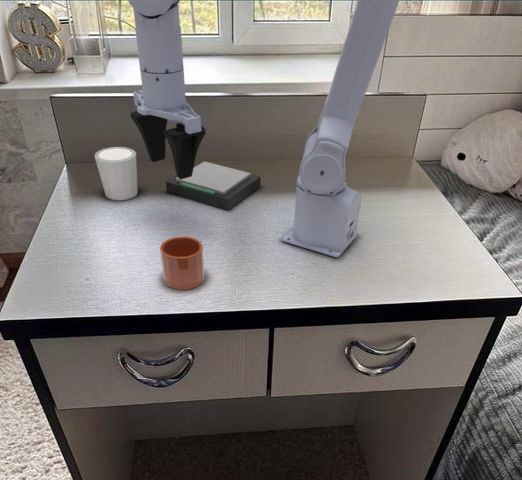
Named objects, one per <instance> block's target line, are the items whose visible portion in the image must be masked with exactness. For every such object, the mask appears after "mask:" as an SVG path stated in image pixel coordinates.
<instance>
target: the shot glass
mask: <svg viewBox="0 0 522 480" xmlns="http://www.w3.org/2000/svg"><path fill="white" fill-rule="evenodd" d="M94 160H95V163H96V165H97V171H98V174H99V178H100V180H101V185H102V187H103V192H104V195H105V197H106V198H108V199H110V200H113V201H125V200H130V199H133V198H135V197H137V195H138V194H139V191H138V190H139V188H138V171H137V170H138V169H137V168H138V167H137V164H138V163H137V152H136V151H135V150H134V149H132V148H129V147H126V146H125V147H124V146H112V147H111V146H110V147H106V148H102V149H100V150H98V151H96V152H95V154H94Z"/></svg>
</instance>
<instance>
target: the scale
mask: <svg viewBox="0 0 522 480" xmlns="http://www.w3.org/2000/svg"><path fill="white" fill-rule="evenodd" d="M165 187H166V193H168V194H171V195H174V196H178V197H181V198H185V199H188V200H191V201H195V202H199V203H202V204H205V205H208V206H212V207H215V208H218V209H223V210H226V211H230V210H231V209H233V208H234V207H235V206H236V205H238V204H239V203H240V202H242V201H243V200H244V199H247V197H249V196H250V195H252V194H253V193H254V192H256V191H257V190H258V189H260V187H261V176H260V175H256V174H253V173H251V172H248V171H243V170H240V169H235V168H231V167H229V166H224V165H220V164H215V163H213V162H208V161H202V160H200V161H199V162H196V163H194V168H193V174H192V176H191V177H188V178H185V179H179V178H178V176H177V174H176V175H175V176H173V177H171V178H170V179H168V180H167V181H165Z"/></svg>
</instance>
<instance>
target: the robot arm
mask: <svg viewBox="0 0 522 480" xmlns="http://www.w3.org/2000/svg"><path fill="white" fill-rule="evenodd" d="M127 1H128V3H129V5H130V6H131V8H133V17H134V26H135V27H134V28H135V38H136V46H137V56H138V64H139V71H140V80H141V88H142V89H140V90H134V91H133V92H132V94H133V102H134V106H135V107H136V110H135V111H132V112H130V114H129V115H130V118H131V120H132V122H133V123H134V125H135V126H136V127H137V129H138V131H139V133H140V135H141V137H142V140H143V143H144V145H145V148H146V151H147V155H148V156H149V159H150V161H151V162H152V163H156V162H159V161H164V160H166V152H167V151H166V150H167V149H166V148H167V147H166V146H167V145H166V141H167V143H168V145H169V148H170V150H171V154H172V159H173V164H174V169H175V173H176V175H177V176H178V178H179V179H185V178H188V177H191V176H192V174H193V168H194V165H195V164H196V163H195V162H196V158H197V154H198V151H199V148H200V145H201V143H202V142H203V139H204V138H205V136H206V127H204V126H202V119H201V118H202V117H201V116H200V115H199V114H197V113H196V112H195V111H194V110H193V108H192V107H191V105H190V104H189V103H188V101H187V99H186V86H185V85H186V84H185V82H186V81H185V67H184V54H183V53H184V52H183V39H182V28H181V20H180V7H179V5H180V4H179V3H180V2H181V0H127ZM399 3H400V0H357V1H356V6H355V9H354V12H353V15H352V18H351V21H350V24H349V28H348V30H347V34H346V37H345V39H344V42H343V46H342V49H341V52H340V55H339V59H338V61H337V65H336V68H335V71H334V74H333V77H332V80H331V82H330V87H329V90H328V93H327V95H326V99H325V102H324V106H323V108H322V110H321V113H320V116H319V118H318V122H317V124H316V126H315V128H313V130H312V131H311V132H310V133H309V134H308V136H307V137H306V139H305V141H304V144H303V155H302V159H301V162H300V164H299V169H298V174H299V175H298V176H297V179H296V189H295V203H294V213H293V214H294V218H293V227H292V229H291V230H289V231H288V232H287V233H286V234H285V235H284V236H283V237H282V242H284V243H288V244H290V245H294V246H298V247H300V248H303V249H307V250H311V251H314V252H317V253H319V254H323V255H327V256H330V257H333V258H339V257H340V256H341V255H342V254H343V253H344V252H345V250H347V248H348V247H349V246H350V245H351V244H352V242H353V241H354V240H355V239H356V238H357V236H358V233H357V228H358V222H359V217H360V210H361V204H362V195H361V193H360V192H359V191H357V190H354V189H352V188H351V187H349V186H348V185H347V179H346V171H347V168H346V155H347V153H348V149H349V146H350V142H351V139H352V134H353V131H354V126H355V123H356V121H357V117H358V115H359V112H360V110H361V108H362V104H363V101H364V99H365V96H366V93H367V91H368V88H369V85H370V82H371V79H372V78H373V77H372V76H373V74H374V71H375V68H376V65H377V63H378V60H379V58H380V55H381V52H382V49H383V47H384V43H385V41H386V39H387V36H388V33H389V30H390V27H391V25H392V22H393V20H394V17H395V14H396V11H397V8H398V5H399ZM168 121H169V122H171V123H173V124H174V125H175V127H173V128H169V129H167V125H168Z"/></svg>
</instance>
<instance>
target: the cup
mask: <svg viewBox="0 0 522 480" xmlns="http://www.w3.org/2000/svg"><path fill="white" fill-rule="evenodd" d="M159 252H160V261H161V270H162V278H163V281H164V283H165V285H166V286H168V287H169V288H171V289H175V290H178V291H180V290H181V291H183V290H185V291H187V290H192V289H195V288H197V287H199V286H200V285H201V284H202V283H204V280H205V257H204V246H203V244H202V242H201V240H198V239H196V238H195V237H190V236H186V235H185V236H174V237H171V238H168V239H166V240H165V241H163V242H162V243H161V245H160V247H159Z"/></svg>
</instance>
